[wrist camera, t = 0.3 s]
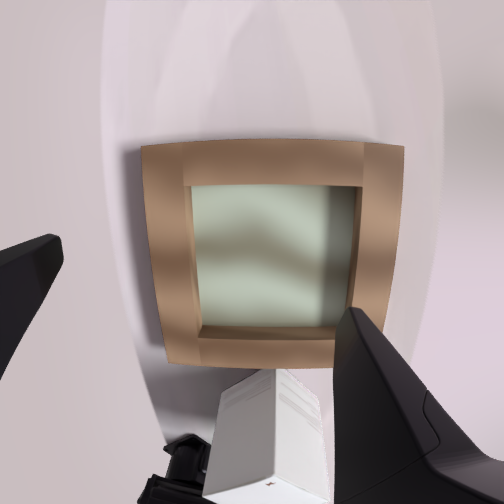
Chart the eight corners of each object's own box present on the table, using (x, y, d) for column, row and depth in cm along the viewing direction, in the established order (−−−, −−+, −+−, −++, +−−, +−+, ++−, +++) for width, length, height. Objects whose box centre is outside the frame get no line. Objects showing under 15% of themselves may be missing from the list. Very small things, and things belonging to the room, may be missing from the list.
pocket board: (367, 348, 27) (374, 365, 24) (175, 346, 28) (168, 363, 26) (391, 145, 21) (404, 146, 18) (153, 145, 22) (140, 146, 20)
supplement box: (219, 391, 30) (197, 496, 18) (276, 358, 28) (275, 474, 16) (265, 426, 31) (259, 523, 19) (320, 398, 29) (334, 503, 17)
